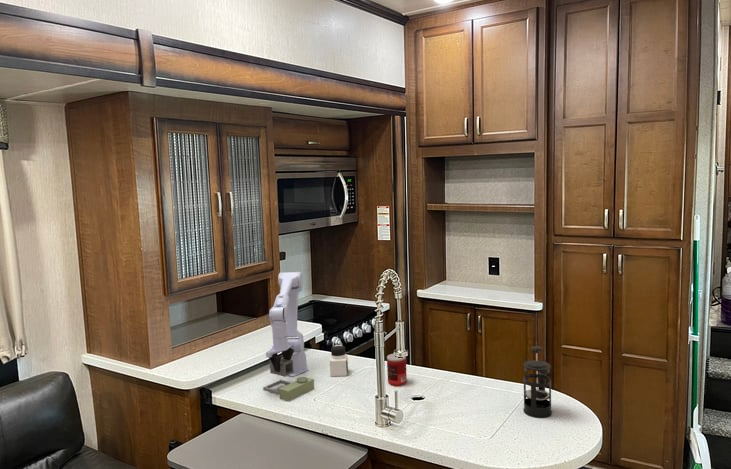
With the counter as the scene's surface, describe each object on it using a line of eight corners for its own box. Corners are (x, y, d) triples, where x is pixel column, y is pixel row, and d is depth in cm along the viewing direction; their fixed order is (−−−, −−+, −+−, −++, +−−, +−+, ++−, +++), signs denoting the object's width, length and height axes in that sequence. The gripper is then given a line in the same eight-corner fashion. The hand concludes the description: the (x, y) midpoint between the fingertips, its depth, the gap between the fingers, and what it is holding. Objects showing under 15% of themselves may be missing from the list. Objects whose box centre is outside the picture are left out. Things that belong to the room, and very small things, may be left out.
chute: (270, 373, 210) (269, 361, 210) (279, 369, 215) (278, 357, 214) (284, 376, 206) (284, 364, 205) (293, 372, 210) (292, 360, 209)
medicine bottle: (347, 376, 222) (345, 348, 220) (330, 376, 222) (328, 349, 220) (348, 370, 229) (346, 343, 227) (331, 370, 229) (330, 344, 227)
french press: (547, 421, 174) (546, 354, 171) (519, 415, 179) (518, 350, 176) (556, 407, 183) (555, 343, 181) (529, 402, 188) (528, 340, 186)
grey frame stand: (285, 380, 220) (284, 368, 220) (314, 388, 210) (313, 376, 209) (259, 391, 210) (258, 379, 209) (288, 401, 199) (287, 388, 198)
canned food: (407, 378, 216) (406, 352, 215) (406, 386, 208) (405, 359, 207) (388, 378, 216) (387, 353, 215) (387, 386, 209) (386, 359, 207)
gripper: (285, 330, 217) (287, 362, 218) (259, 340, 205) (261, 373, 206) (298, 332, 213) (300, 364, 214) (272, 342, 201) (274, 376, 202)
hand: (282, 369), depth 210 cm, fingers closed on chute, 5 cm apart
